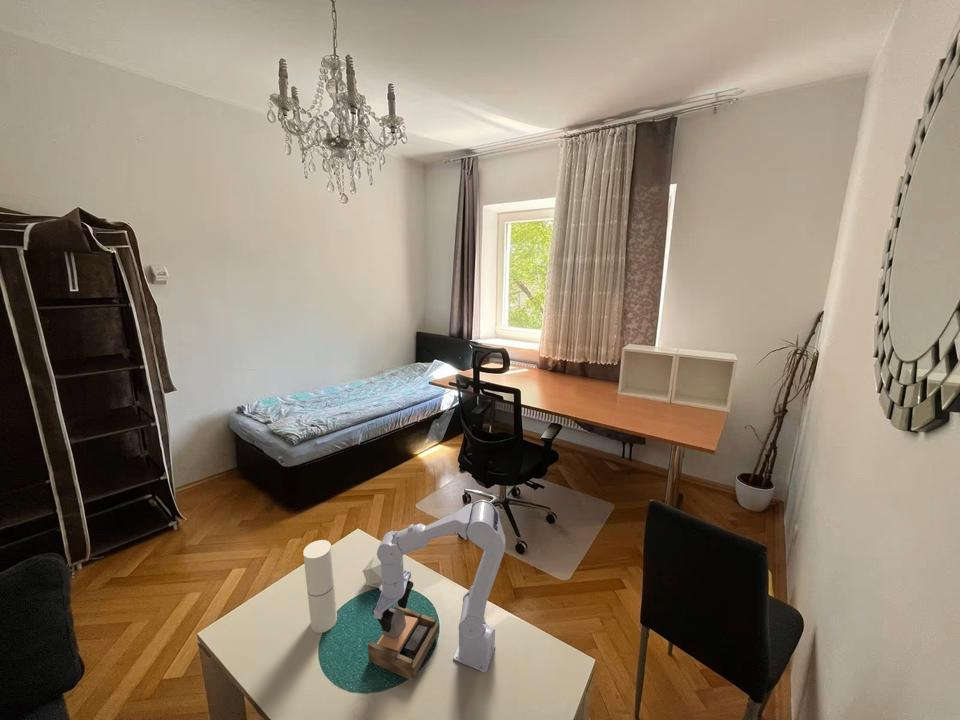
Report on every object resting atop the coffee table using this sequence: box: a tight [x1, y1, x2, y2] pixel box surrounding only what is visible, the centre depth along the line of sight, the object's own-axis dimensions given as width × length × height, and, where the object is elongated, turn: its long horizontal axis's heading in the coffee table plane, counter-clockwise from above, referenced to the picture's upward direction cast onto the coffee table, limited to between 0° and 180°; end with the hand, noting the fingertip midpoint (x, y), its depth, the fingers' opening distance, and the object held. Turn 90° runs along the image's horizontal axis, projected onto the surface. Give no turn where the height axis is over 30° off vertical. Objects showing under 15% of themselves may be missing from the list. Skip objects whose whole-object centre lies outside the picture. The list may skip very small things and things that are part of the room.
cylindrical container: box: [302, 539, 338, 634], centre depth 107 cm, size 7×7×25 cm
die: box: [362, 556, 382, 589], centre depth 124 cm, size 8×9×10 cm
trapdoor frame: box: [367, 603, 440, 681], centre depth 102 cm, size 14×13×6 cm
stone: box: [381, 607, 406, 639], centre depth 102 cm, size 4×4×4 cm
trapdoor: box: [376, 615, 428, 658], centre depth 102 cm, size 11×10×2 cm
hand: (394, 618), depth 102 cm, fingers open, 7 cm apart
